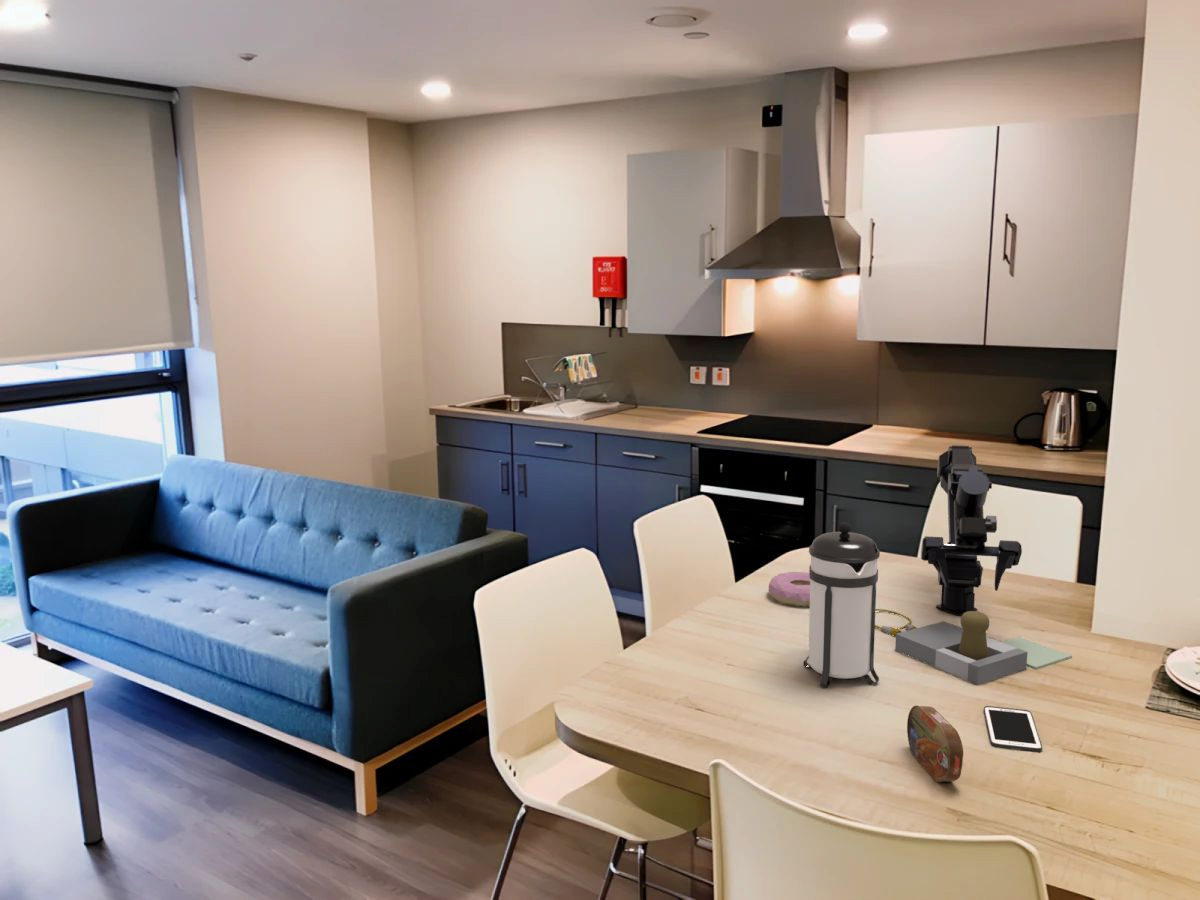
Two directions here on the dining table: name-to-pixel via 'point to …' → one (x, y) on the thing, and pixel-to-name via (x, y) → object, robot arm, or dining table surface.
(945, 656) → the socket block
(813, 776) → the dining table surface
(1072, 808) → the dining table surface
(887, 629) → the gold chain necklace
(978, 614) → the cork
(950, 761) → the tin
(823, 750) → the dining table surface
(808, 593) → the donut
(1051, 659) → the mat
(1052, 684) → the dining table surface
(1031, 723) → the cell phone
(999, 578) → the robot arm
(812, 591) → the coffee press
